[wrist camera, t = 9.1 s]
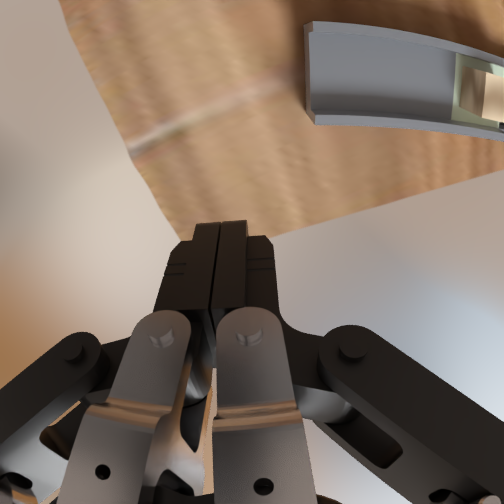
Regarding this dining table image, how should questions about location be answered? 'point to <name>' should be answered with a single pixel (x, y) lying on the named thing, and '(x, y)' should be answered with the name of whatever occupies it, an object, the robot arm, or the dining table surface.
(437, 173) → the dining table surface
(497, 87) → the wood block
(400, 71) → the channel deck
